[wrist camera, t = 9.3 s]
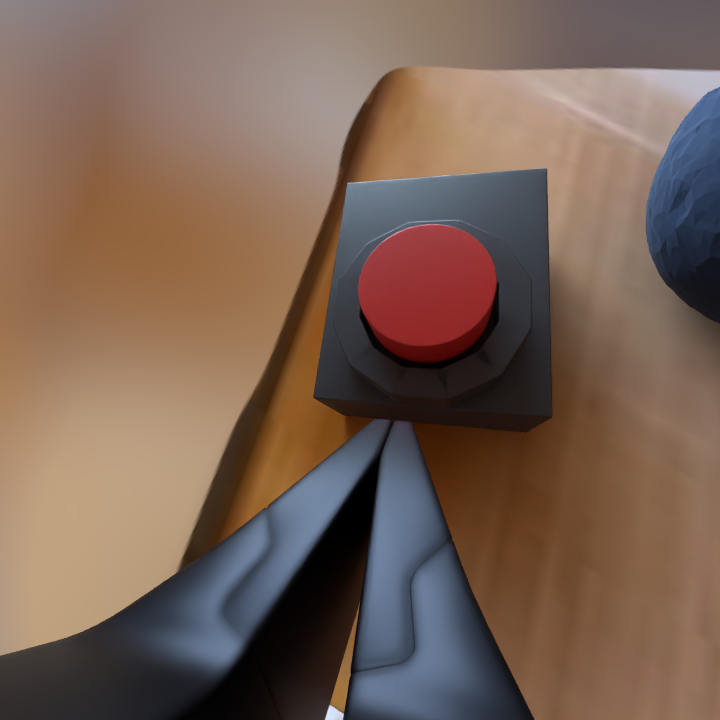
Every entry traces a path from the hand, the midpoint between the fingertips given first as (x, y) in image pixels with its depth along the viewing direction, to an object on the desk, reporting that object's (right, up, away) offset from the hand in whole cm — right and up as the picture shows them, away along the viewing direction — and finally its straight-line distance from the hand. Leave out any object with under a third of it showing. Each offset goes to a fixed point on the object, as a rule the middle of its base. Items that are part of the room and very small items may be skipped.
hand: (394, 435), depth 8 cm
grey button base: (+4, +4, +14) cm, 15 cm away
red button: (+2, +4, +7) cm, 8 cm away
